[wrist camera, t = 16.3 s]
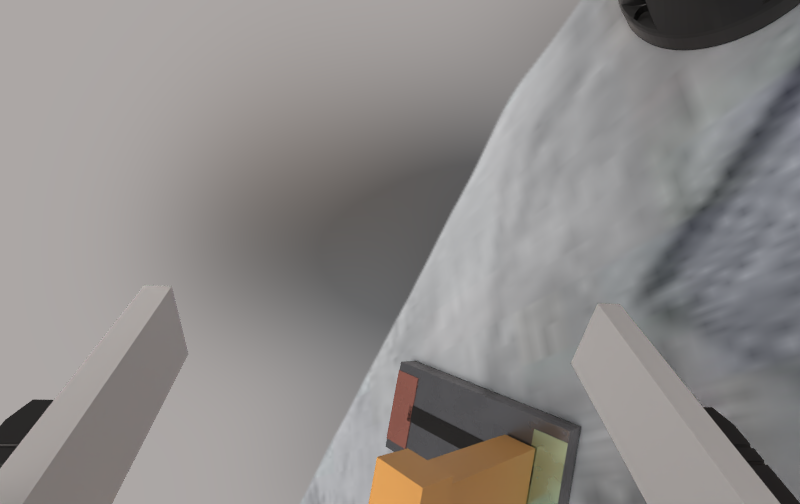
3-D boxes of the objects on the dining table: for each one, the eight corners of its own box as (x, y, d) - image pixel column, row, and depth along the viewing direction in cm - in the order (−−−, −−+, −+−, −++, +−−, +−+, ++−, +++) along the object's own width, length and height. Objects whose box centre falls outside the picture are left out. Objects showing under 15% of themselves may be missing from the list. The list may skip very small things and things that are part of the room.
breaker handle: (489, 496, 38) (357, 565, 27) (502, 421, 38) (377, 456, 27) (529, 520, 35) (401, 609, 24) (542, 439, 36) (422, 487, 24)
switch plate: (400, 442, 50) (385, 446, 48) (415, 360, 50) (400, 361, 48) (562, 540, 36) (549, 551, 34) (581, 426, 36) (569, 431, 34)
